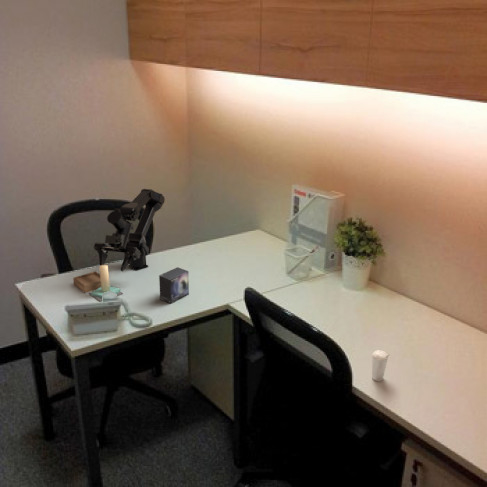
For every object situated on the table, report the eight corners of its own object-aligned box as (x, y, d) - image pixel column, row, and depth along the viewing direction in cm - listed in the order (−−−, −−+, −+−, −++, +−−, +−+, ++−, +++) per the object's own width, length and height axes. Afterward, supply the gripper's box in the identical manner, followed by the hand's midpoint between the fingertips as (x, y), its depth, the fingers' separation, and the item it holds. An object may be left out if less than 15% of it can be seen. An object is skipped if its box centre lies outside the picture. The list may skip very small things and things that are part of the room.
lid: (104, 287, 220) (102, 261, 216) (120, 291, 217) (118, 264, 213) (91, 295, 214) (88, 268, 209) (107, 299, 210) (105, 272, 206)
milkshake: (380, 386, 160) (383, 357, 157) (366, 377, 165) (369, 348, 161) (390, 380, 163) (394, 352, 159) (376, 372, 167) (380, 344, 163)
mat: (111, 286, 222) (111, 285, 222) (123, 294, 215) (123, 293, 215) (89, 293, 216) (89, 292, 215) (100, 301, 209) (100, 300, 209)
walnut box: (96, 278, 229) (95, 271, 228) (107, 286, 222) (107, 278, 221) (73, 285, 223) (72, 277, 222) (85, 293, 216) (84, 285, 215)
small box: (171, 304, 208) (170, 279, 204) (159, 299, 211) (157, 275, 208) (190, 294, 216) (189, 270, 212) (178, 290, 219) (177, 266, 215)
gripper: (93, 223, 218) (81, 259, 212) (135, 228, 213) (124, 265, 208) (104, 235, 228) (93, 269, 222) (145, 240, 223) (135, 275, 218)
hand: (110, 269), depth 217 cm, fingers open, 9 cm apart
